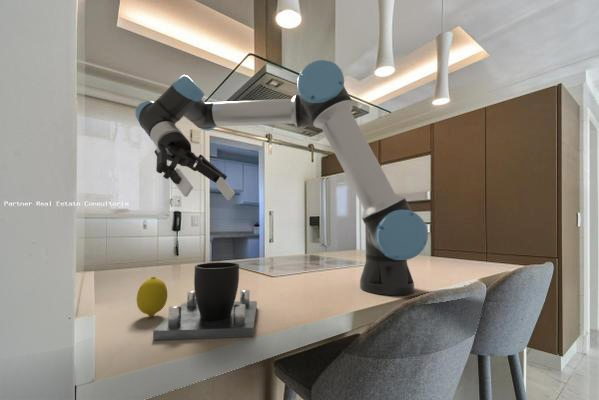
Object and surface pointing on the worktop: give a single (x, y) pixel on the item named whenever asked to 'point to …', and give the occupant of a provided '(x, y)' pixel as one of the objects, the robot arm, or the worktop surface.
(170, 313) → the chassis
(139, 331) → the worktop surface
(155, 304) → the lemon
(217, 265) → the mug
